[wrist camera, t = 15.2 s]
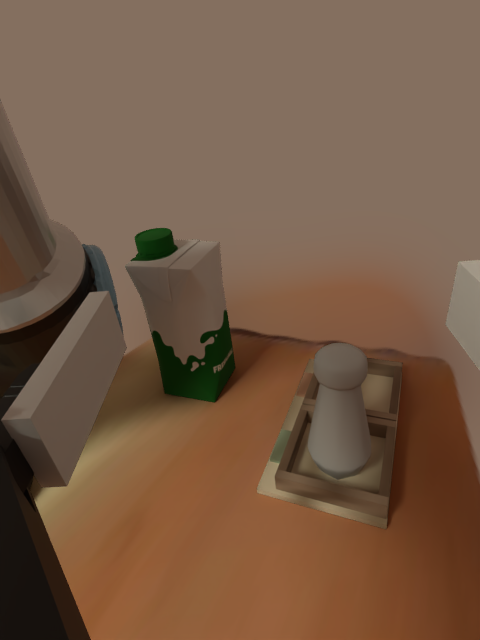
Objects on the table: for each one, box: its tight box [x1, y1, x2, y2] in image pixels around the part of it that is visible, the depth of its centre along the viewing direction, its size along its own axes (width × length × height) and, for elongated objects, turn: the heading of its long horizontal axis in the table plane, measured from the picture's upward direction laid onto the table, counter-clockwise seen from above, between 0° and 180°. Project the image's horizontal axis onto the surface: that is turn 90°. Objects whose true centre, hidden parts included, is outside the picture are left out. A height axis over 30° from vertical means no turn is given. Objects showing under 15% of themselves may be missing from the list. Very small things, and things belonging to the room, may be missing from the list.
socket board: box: [257, 358, 403, 529], centre depth 43 cm, size 11×20×2 cm, turn 158°
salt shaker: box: [308, 343, 371, 480], centre depth 36 cm, size 6×6×13 cm
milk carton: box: [125, 228, 235, 402], centre depth 48 cm, size 9×9×20 cm
